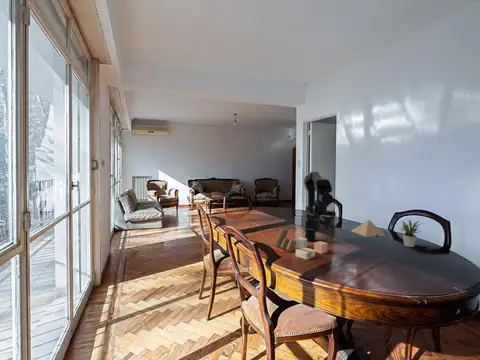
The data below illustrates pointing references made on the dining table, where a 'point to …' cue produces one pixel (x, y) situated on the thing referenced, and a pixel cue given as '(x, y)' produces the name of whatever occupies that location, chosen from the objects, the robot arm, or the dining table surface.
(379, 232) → the model pyramid
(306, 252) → the maple base
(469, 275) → the dining table surface
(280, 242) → the wooden block set
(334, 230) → the dining table surface
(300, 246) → the sage cube
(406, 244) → the house plant
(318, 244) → the terracotta cube
